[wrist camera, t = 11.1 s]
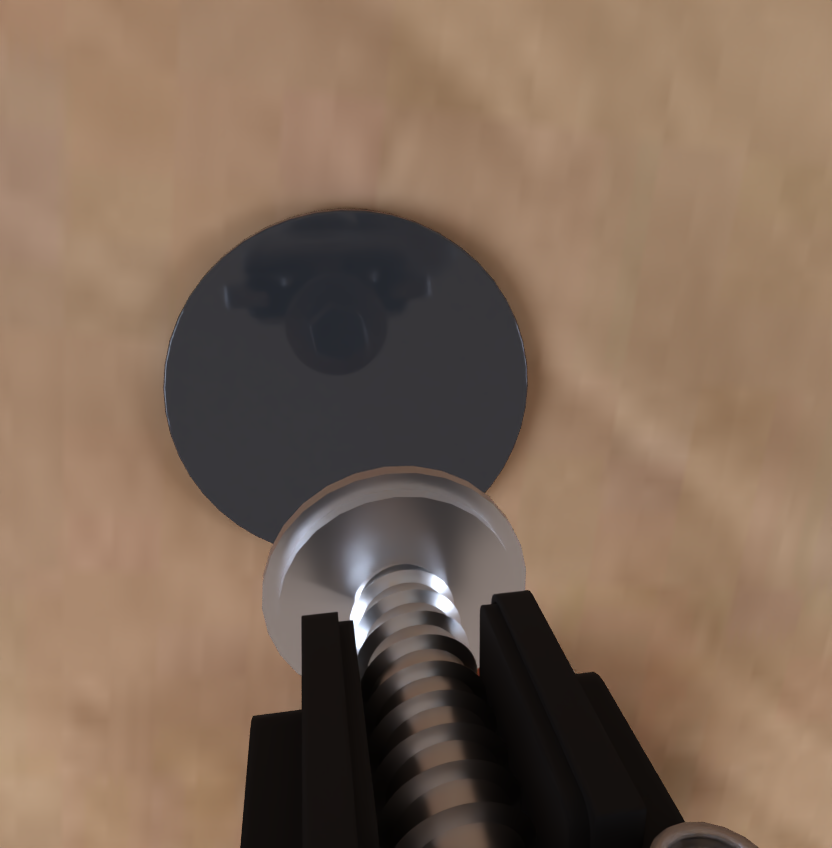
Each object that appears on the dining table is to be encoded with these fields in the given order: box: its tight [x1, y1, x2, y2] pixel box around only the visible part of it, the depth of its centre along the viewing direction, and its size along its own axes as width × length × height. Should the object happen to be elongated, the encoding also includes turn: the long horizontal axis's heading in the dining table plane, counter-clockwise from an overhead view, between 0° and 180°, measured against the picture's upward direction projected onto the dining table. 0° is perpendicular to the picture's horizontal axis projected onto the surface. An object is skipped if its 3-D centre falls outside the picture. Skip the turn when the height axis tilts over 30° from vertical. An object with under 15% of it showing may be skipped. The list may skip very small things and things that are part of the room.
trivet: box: [163, 208, 528, 543], centre depth 24 cm, size 12×12×1 cm
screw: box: [262, 466, 536, 848], centre depth 9 cm, size 13×5×5 cm
